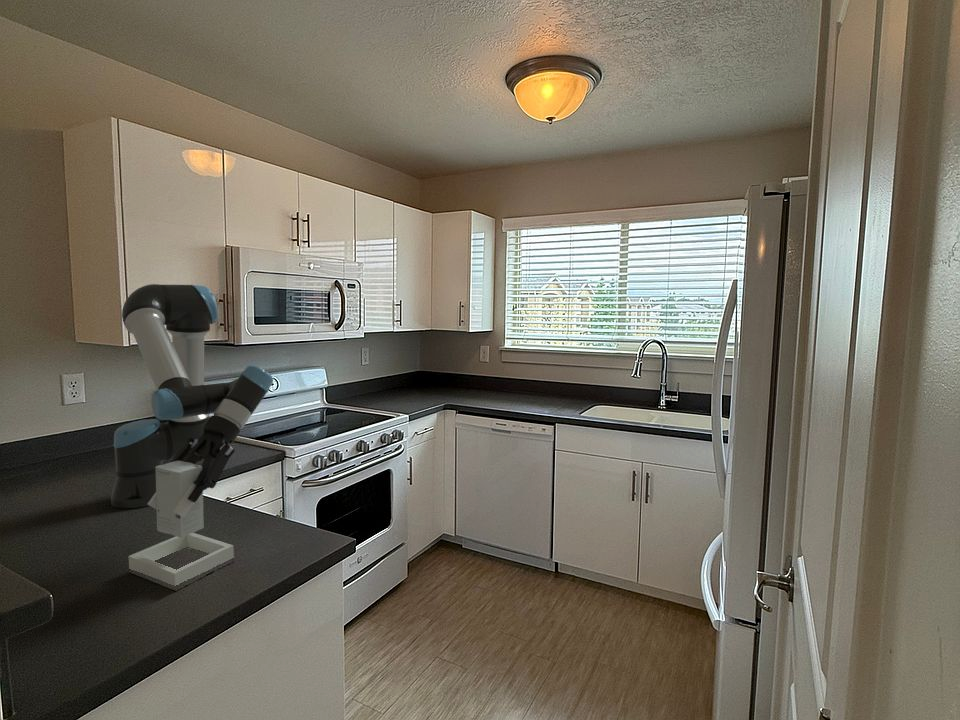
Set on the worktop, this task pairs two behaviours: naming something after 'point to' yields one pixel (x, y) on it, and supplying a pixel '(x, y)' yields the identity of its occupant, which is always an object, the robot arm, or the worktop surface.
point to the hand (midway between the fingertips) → (165, 510)
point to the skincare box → (177, 498)
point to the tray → (147, 557)
